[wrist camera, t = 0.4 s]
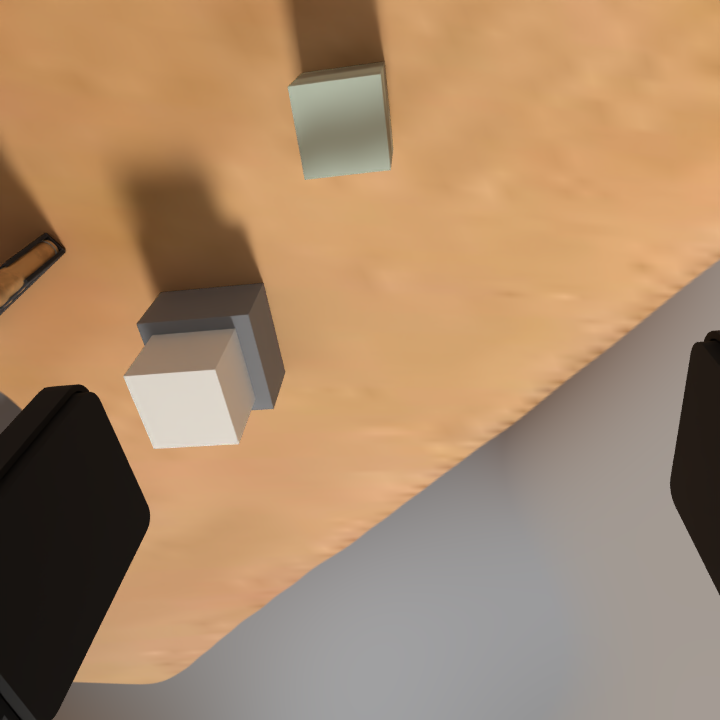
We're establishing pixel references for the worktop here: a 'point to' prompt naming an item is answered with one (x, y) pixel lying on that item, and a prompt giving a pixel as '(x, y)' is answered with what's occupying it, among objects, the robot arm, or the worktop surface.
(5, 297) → the ammunition clip
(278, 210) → the worktop surface
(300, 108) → the sage block
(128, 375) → the tower top
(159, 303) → the tower base
